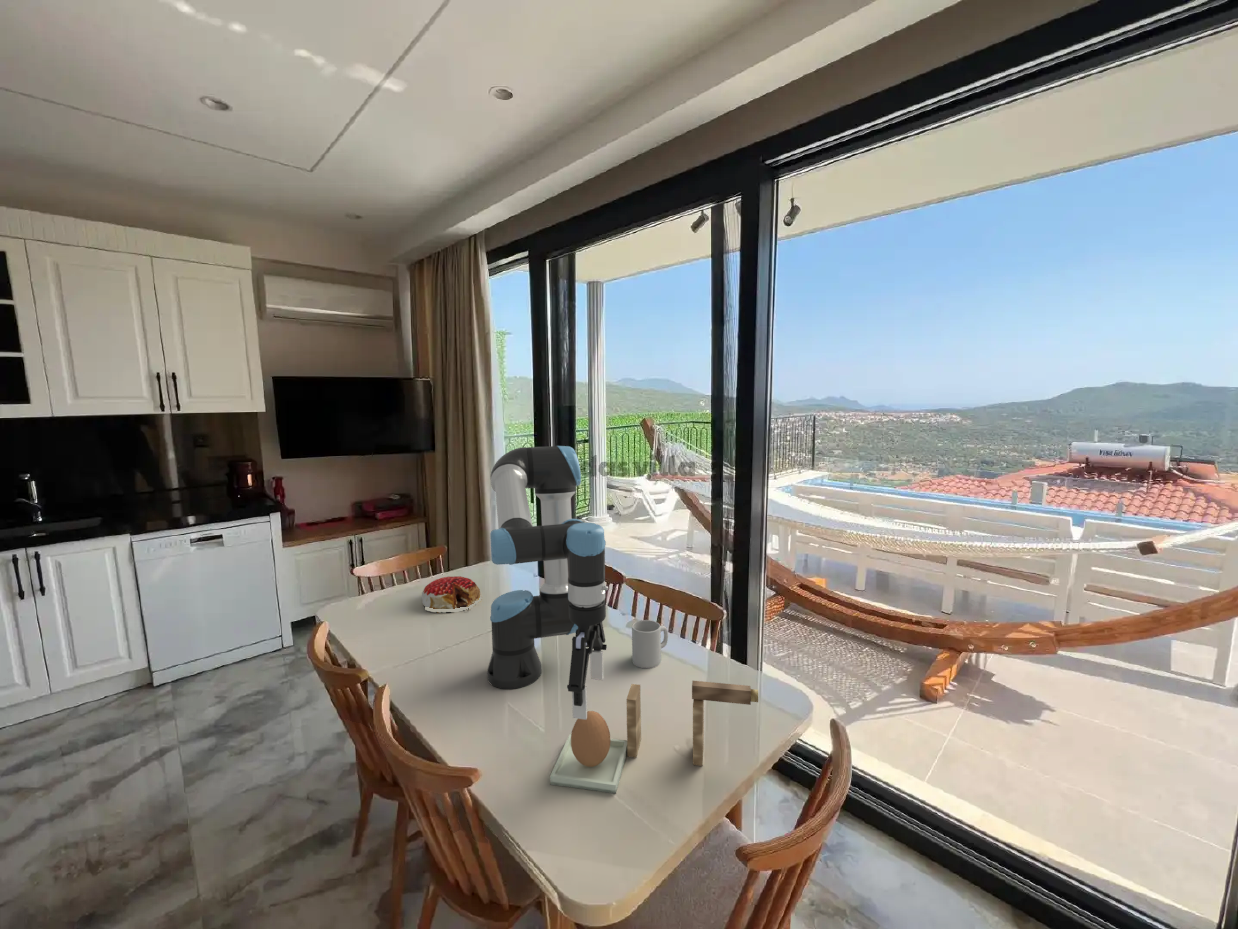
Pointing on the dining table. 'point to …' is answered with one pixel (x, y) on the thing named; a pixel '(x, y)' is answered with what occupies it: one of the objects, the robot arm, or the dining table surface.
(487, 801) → the dining table surface
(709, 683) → the wooden crossbeam
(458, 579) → the cake
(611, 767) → the dish
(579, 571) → the robot arm
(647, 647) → the mug
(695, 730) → the wooden post pair
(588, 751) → the egg
